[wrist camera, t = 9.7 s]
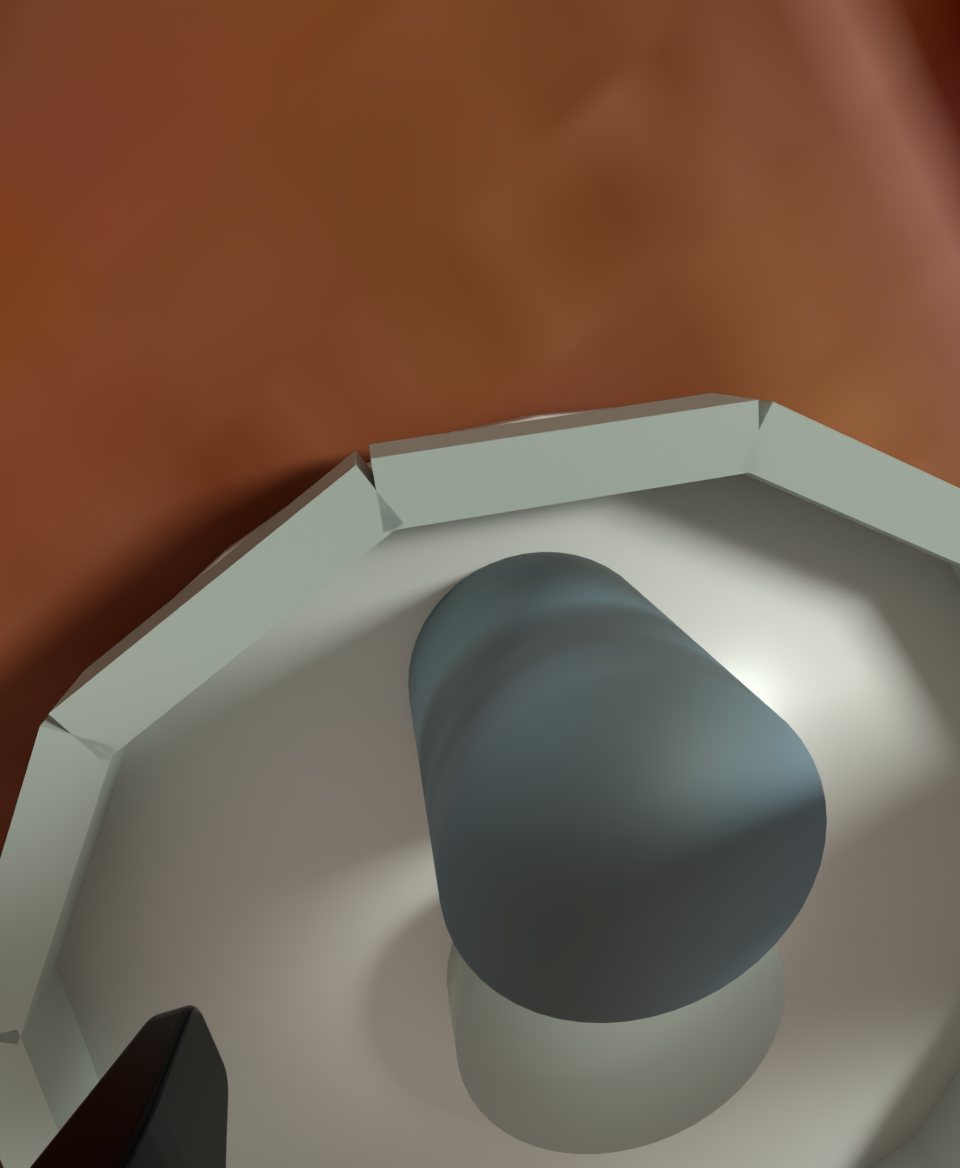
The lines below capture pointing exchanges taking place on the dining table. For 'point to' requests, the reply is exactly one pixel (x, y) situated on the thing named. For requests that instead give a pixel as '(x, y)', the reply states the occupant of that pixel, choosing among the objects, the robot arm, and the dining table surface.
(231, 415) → the dining table surface
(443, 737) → the blue-grey short cylinder
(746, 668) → the tray
